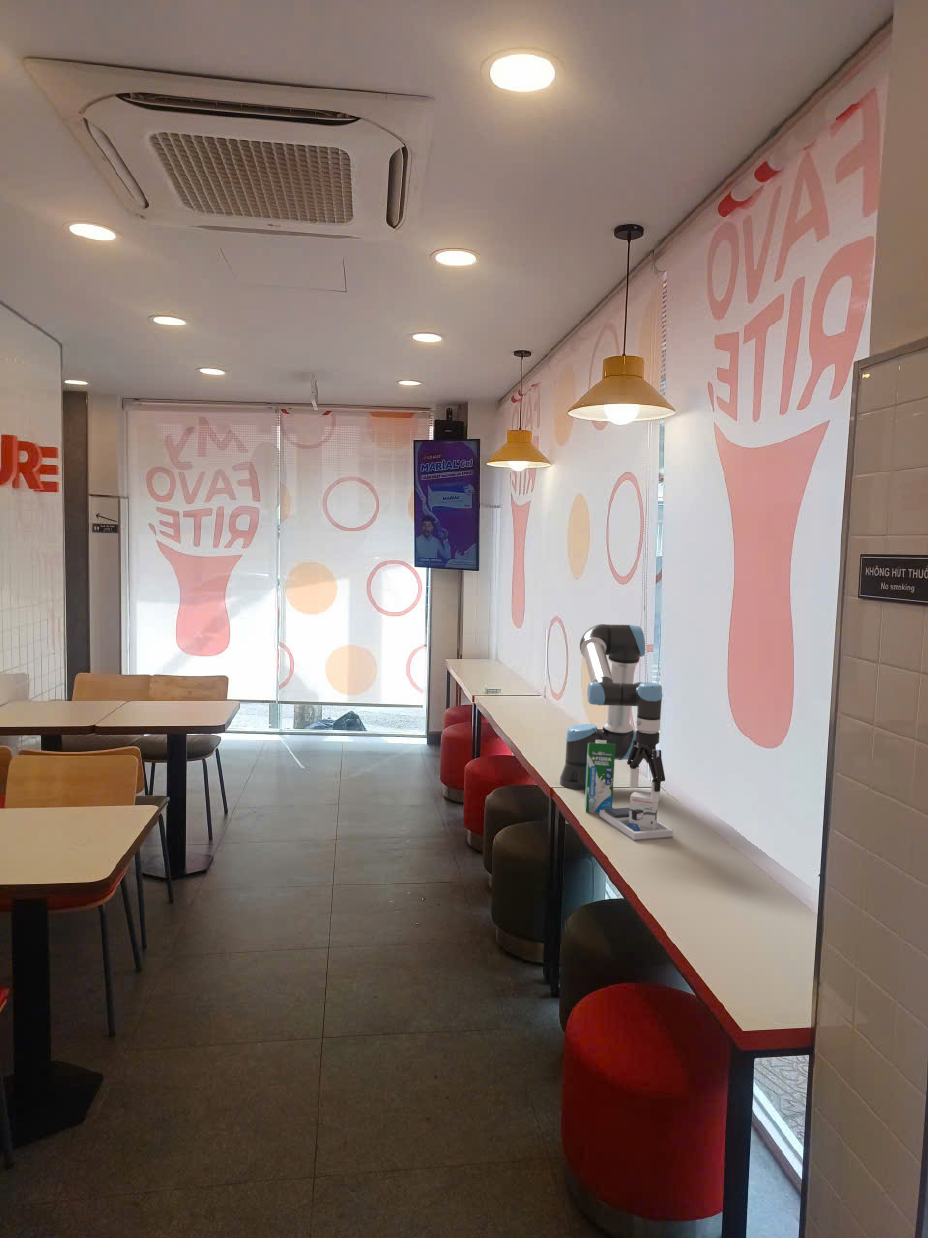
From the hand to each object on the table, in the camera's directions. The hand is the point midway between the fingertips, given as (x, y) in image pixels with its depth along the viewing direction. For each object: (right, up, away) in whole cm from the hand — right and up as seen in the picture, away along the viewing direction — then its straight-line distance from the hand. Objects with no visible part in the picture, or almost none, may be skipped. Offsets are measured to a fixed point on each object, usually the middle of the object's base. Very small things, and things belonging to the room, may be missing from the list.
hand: (644, 794), depth 271 cm
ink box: (0, -12, +1) cm, 12 cm away
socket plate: (-2, -12, +5) cm, 13 cm away
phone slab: (-4, -9, +11) cm, 15 cm away
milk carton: (-11, -11, +23) cm, 28 cm away
